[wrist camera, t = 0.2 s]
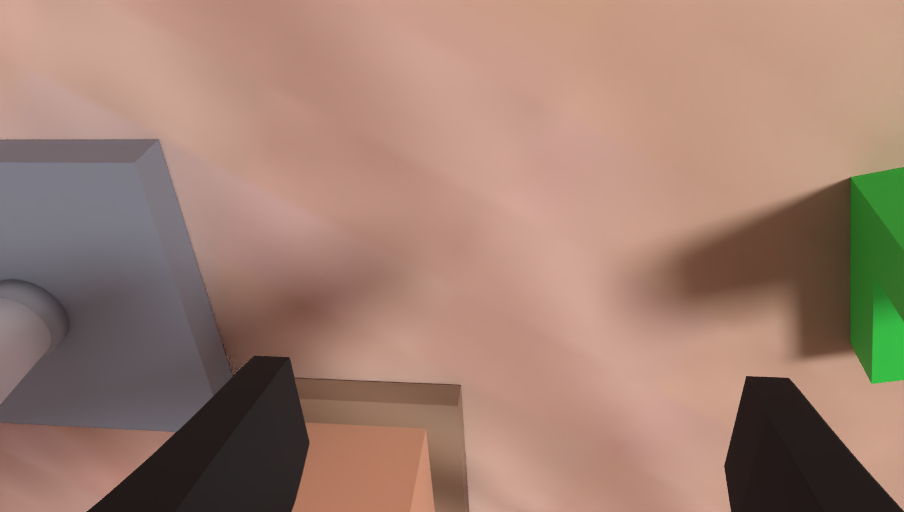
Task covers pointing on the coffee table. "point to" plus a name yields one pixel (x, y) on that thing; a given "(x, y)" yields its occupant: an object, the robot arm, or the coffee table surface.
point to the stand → (400, 423)
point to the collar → (365, 470)
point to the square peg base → (100, 290)
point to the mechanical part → (877, 273)
